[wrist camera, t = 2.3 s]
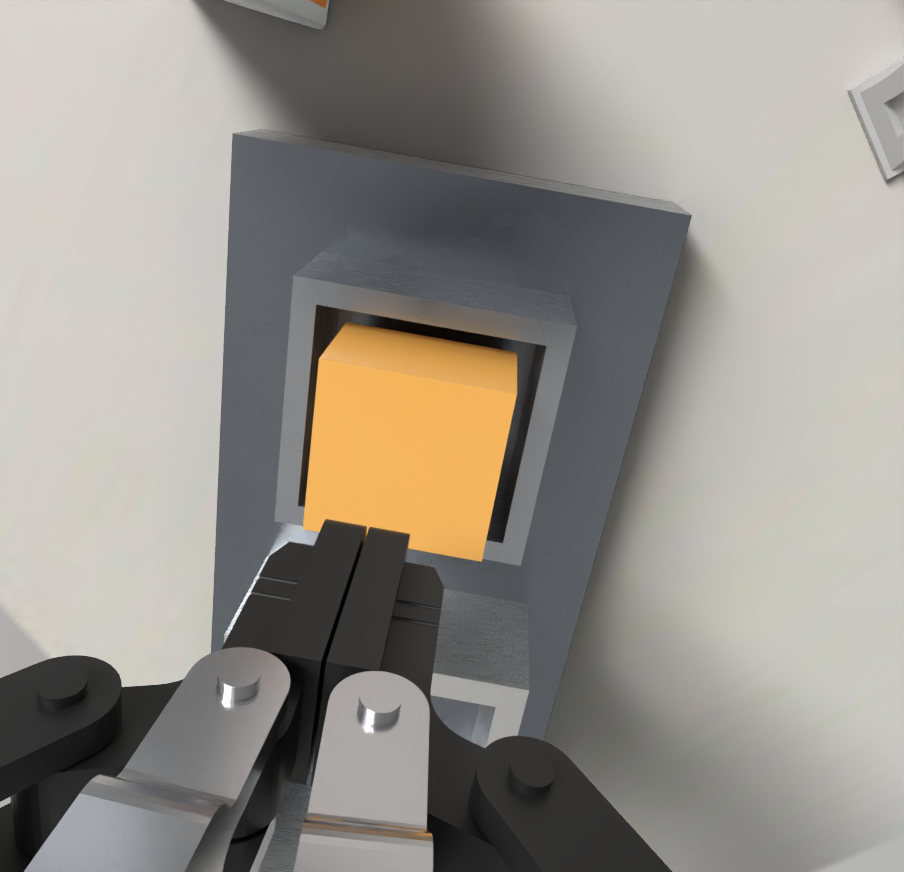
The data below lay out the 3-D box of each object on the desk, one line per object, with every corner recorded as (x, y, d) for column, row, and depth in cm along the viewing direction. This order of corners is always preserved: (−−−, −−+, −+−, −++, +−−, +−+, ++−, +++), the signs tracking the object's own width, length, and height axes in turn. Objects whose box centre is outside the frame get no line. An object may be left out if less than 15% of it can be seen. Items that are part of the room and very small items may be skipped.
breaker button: (517, 352, 20) (516, 394, 17) (486, 502, 22) (481, 561, 19) (346, 321, 20) (318, 358, 17) (330, 473, 22) (302, 529, 19)
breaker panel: (674, 202, 22) (730, 242, 16) (513, 796, 32) (511, 956, 26) (261, 129, 22) (169, 142, 16) (227, 744, 32) (161, 891, 26)
